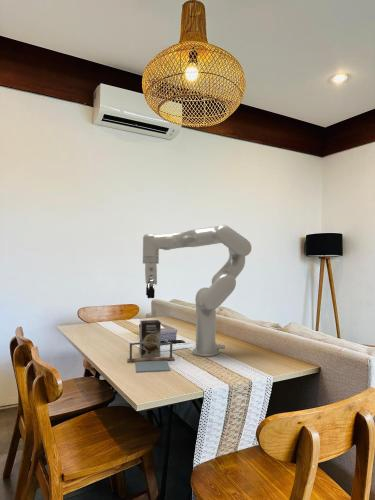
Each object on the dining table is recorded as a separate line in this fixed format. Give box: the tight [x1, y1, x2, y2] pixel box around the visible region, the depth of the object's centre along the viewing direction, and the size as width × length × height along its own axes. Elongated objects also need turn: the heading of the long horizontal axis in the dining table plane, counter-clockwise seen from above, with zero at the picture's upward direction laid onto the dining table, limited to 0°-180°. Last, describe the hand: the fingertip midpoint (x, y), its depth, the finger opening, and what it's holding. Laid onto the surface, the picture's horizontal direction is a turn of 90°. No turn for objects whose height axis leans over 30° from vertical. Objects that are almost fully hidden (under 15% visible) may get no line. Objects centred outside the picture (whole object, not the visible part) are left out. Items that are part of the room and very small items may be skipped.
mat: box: [135, 361, 171, 373], centre depth 146 cm, size 14×12×1 cm
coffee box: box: [138, 319, 162, 358], centre depth 163 cm, size 9×6×16 cm
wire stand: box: [126, 341, 176, 364], centre depth 154 cm, size 21×4×8 cm, turn 99°
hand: (150, 296), depth 163 cm, fingers open, 9 cm apart
